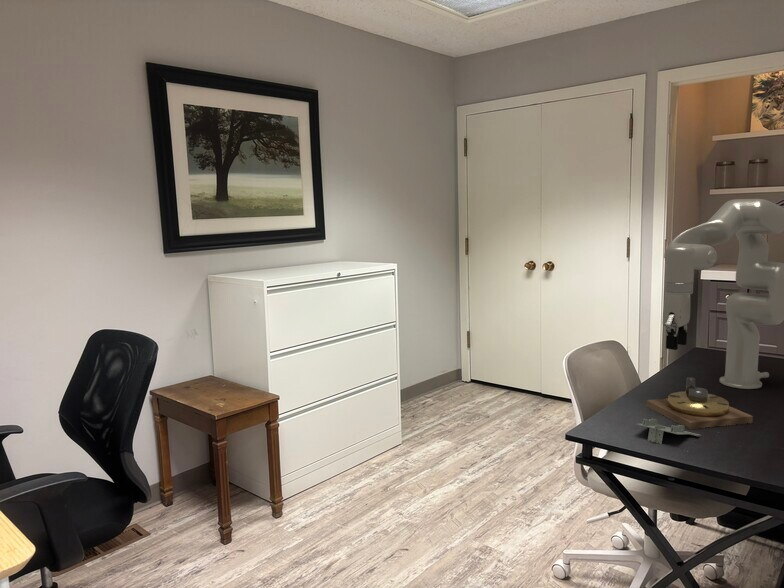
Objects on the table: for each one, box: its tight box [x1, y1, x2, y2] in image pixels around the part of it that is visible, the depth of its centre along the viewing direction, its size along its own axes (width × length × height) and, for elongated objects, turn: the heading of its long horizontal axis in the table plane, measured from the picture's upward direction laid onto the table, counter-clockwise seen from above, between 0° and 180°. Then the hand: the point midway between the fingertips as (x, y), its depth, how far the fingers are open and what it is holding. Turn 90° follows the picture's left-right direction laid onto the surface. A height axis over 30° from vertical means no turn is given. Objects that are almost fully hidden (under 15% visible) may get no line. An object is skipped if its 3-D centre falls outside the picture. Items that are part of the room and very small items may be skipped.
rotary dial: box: [667, 376, 730, 416], centre depth 177 cm, size 16×16×7 cm
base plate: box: [645, 397, 754, 430], centre depth 178 cm, size 20×20×2 cm
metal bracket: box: [636, 418, 702, 445], centre depth 163 cm, size 14×6×15 cm
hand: (676, 346), depth 180 cm, fingers open, 6 cm apart
